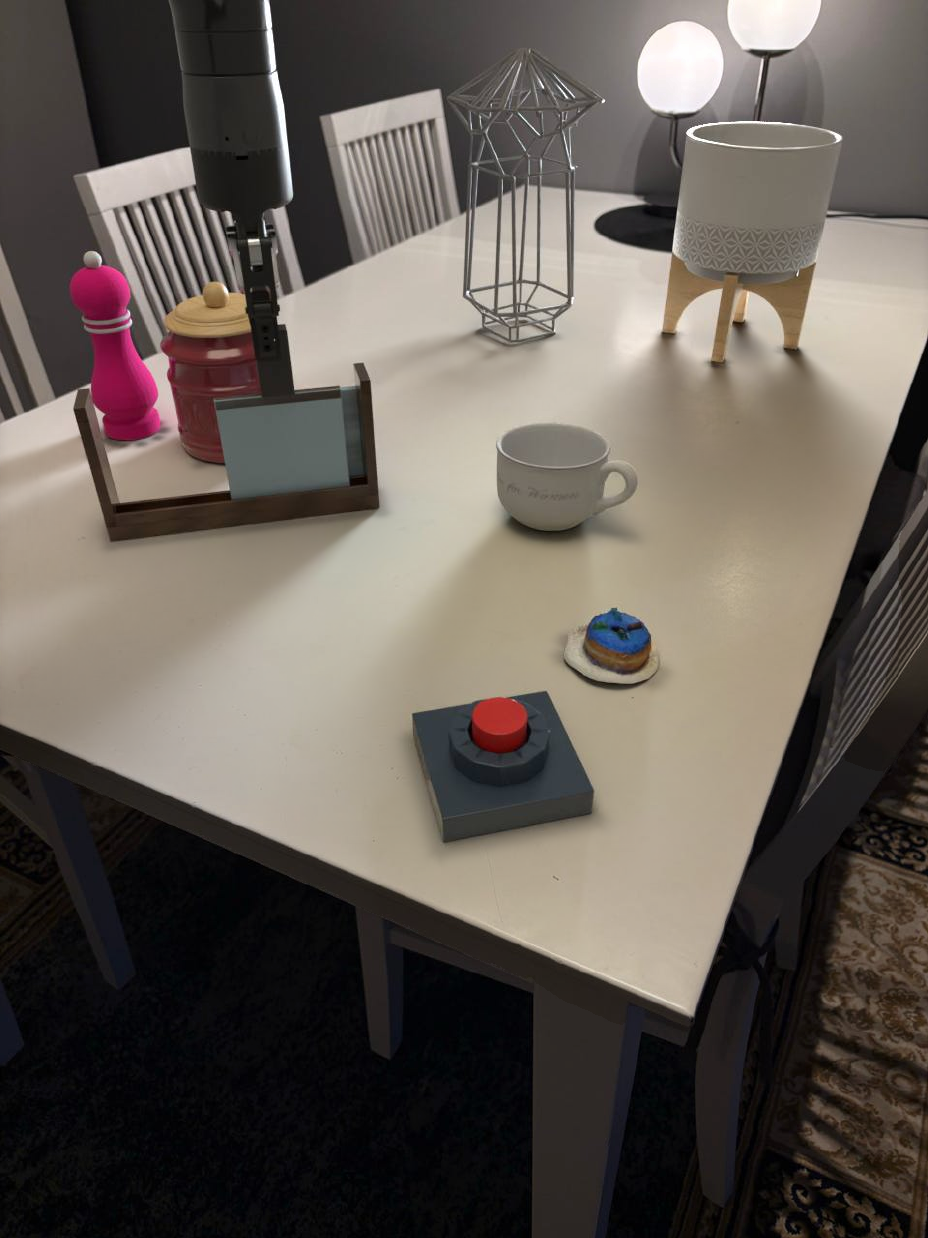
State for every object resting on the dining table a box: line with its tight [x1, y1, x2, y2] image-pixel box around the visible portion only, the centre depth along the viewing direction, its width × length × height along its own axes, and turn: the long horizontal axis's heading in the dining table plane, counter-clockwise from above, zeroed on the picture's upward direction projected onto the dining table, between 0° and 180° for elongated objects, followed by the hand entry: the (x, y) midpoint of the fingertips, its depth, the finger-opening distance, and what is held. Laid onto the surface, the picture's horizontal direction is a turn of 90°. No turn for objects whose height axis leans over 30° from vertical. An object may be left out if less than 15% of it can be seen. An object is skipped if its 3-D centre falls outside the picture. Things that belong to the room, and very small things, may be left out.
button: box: [472, 696, 527, 754], centre depth 60 cm, size 4×4×2 cm
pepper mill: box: [69, 250, 162, 441], centre depth 101 cm, size 7×7×20 cm
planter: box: [661, 121, 844, 363], centre depth 121 cm, size 19×19×26 cm
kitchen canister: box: [159, 281, 261, 464], centre depth 99 cm, size 13×13×18 cm
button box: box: [411, 690, 595, 843], centre depth 61 cm, size 10×10×4 cm
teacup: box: [495, 422, 639, 532], centre depth 87 cm, size 14×11×8 cm
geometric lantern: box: [445, 47, 606, 343], centre depth 122 cm, size 16×16×35 cm
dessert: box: [563, 606, 660, 685], centre depth 72 cm, size 8×7×6 cm
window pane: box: [214, 323, 350, 500], centre depth 85 cm, size 12×2×17 cm, turn 104°
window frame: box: [72, 362, 381, 542], centre depth 87 cm, size 26×4×14 cm, turn 104°
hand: (265, 342), depth 80 cm, fingers open, 8 cm apart
